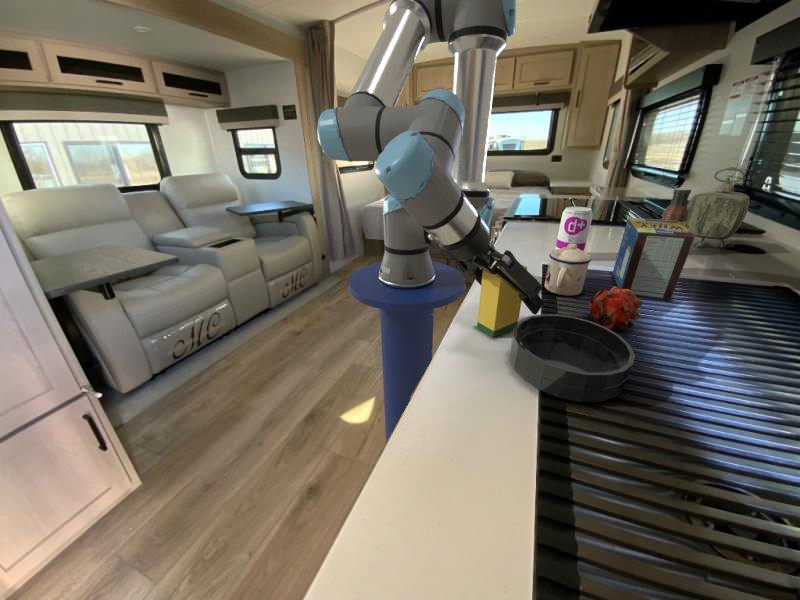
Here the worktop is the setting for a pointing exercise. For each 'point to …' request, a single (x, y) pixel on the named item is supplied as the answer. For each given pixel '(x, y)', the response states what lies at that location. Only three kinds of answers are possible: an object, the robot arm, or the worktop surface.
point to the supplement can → (574, 227)
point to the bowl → (571, 357)
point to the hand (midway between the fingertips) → (514, 298)
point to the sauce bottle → (678, 206)
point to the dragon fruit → (615, 308)
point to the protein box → (652, 257)
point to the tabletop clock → (717, 211)
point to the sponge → (497, 305)
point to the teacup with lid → (567, 270)
